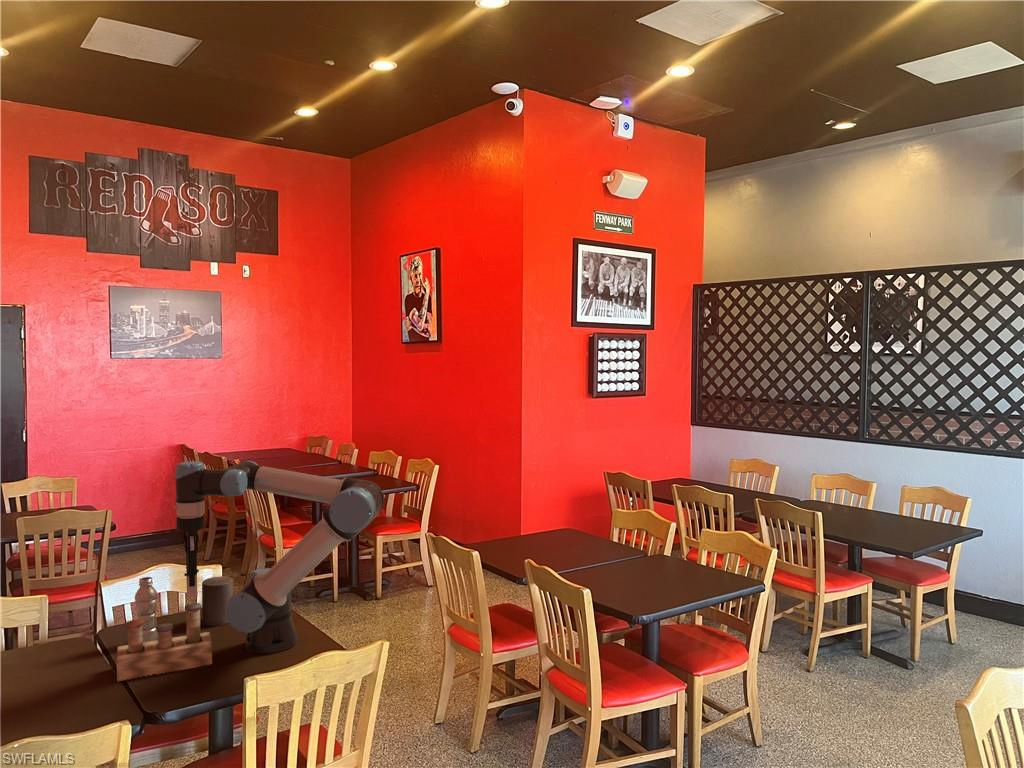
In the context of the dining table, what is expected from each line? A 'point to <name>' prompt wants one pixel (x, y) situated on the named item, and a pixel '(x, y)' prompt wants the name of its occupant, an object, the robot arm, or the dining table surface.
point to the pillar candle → (216, 600)
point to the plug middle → (164, 635)
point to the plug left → (193, 622)
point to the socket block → (164, 657)
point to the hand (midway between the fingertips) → (192, 596)
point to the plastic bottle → (147, 608)
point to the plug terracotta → (135, 636)
